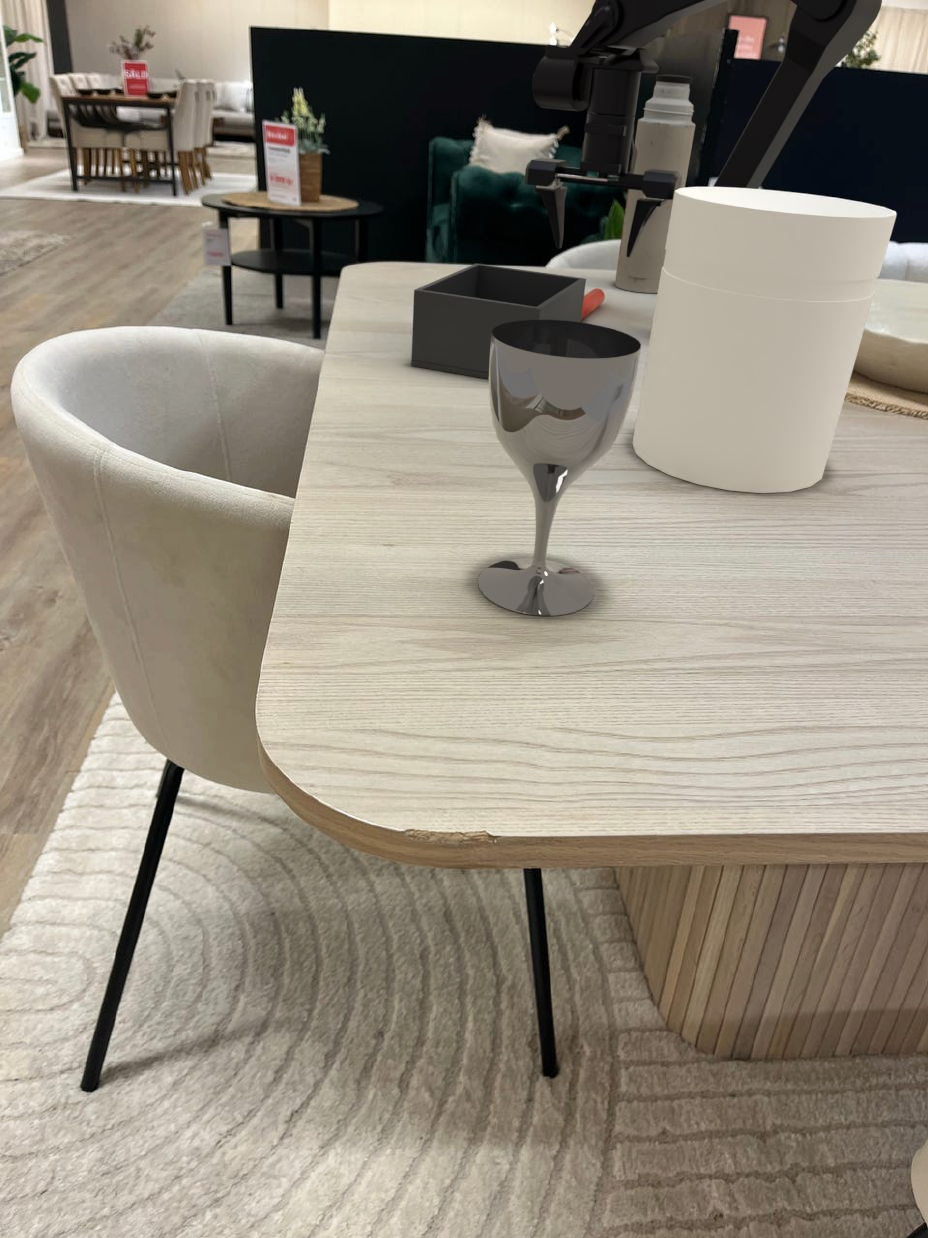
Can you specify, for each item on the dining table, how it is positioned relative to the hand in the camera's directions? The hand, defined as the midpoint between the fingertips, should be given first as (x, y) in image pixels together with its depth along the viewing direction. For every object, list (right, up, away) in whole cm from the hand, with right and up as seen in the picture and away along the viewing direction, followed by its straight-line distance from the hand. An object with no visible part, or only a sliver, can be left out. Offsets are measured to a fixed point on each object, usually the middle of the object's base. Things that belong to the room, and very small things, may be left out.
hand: (593, 252), depth 119 cm
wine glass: (-12, -45, -62) cm, 78 cm away
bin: (-13, -18, -17) cm, 28 cm away
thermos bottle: (+10, +3, +22) cm, 24 cm away
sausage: (-1, -6, +4) cm, 8 cm away
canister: (+6, -33, -40) cm, 52 cm away
